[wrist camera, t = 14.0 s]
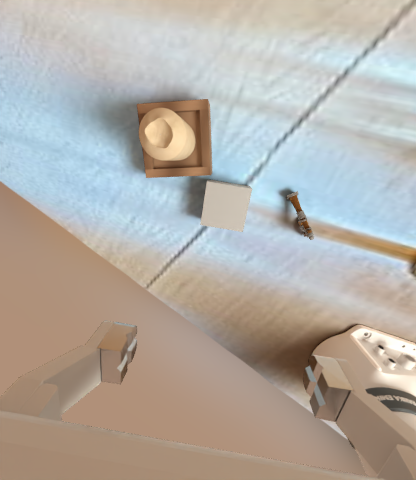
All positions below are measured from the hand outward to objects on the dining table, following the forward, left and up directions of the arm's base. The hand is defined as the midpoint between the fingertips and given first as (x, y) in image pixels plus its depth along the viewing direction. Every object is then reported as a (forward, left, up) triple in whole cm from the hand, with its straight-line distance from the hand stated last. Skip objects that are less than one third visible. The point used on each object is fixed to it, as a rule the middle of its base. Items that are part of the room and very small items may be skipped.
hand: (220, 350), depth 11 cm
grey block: (0, -1, -31) cm, 31 cm away
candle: (+9, -10, -28) cm, 31 cm away
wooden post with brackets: (-13, -1, -32) cm, 34 cm away
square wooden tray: (+9, -10, -31) cm, 34 cm away
